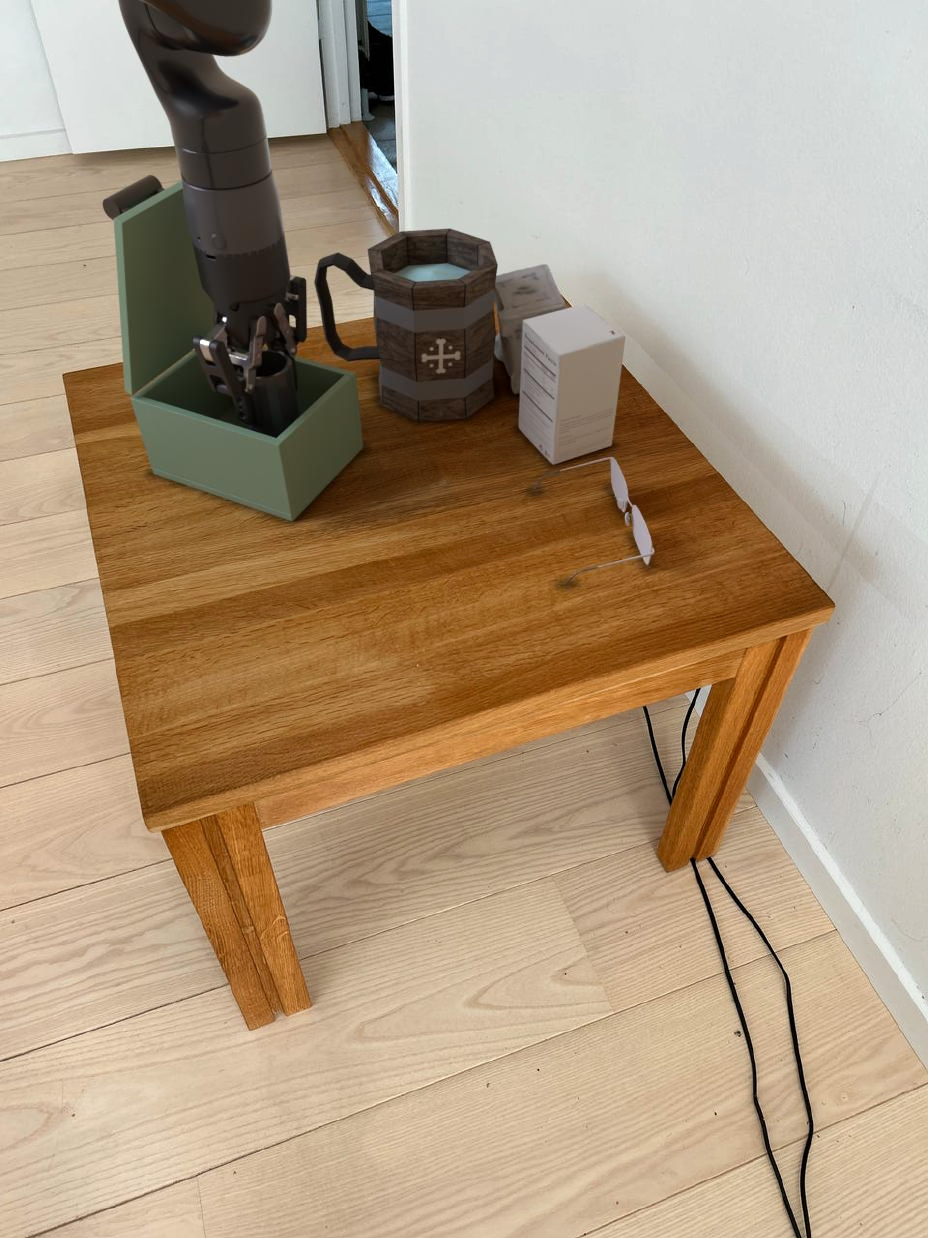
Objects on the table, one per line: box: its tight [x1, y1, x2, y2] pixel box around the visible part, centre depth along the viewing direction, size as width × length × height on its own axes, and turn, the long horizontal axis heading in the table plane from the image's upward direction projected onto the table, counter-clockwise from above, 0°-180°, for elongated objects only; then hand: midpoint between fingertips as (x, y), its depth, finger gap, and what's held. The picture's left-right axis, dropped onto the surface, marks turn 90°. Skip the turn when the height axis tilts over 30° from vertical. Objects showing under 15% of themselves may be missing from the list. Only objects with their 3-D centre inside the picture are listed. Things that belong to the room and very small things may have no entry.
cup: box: [238, 349, 300, 438], centre depth 87 cm, size 5×5×8 cm
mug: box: [313, 227, 499, 423], centre depth 98 cm, size 20×14×15 cm
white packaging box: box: [518, 303, 626, 466], centre depth 92 cm, size 7×7×13 cm
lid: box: [102, 174, 214, 396], centre depth 83 cm, size 18×13×5 cm
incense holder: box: [494, 264, 567, 395], centre depth 101 cm, size 10×8×10 cm
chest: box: [129, 346, 364, 522], centre depth 91 cm, size 17×13×9 cm
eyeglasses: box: [531, 456, 655, 586], centre depth 85 cm, size 14×8×4 cm, turn 10°
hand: (269, 406), depth 88 cm, fingers closed on cup, 5 cm apart
